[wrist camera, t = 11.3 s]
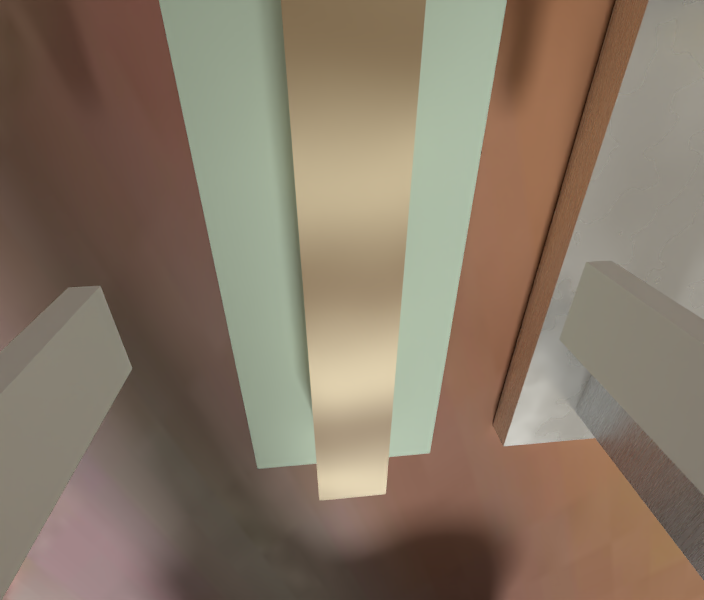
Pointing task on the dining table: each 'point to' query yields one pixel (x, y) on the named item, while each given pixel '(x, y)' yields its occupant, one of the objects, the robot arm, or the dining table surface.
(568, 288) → the rail stand
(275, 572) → the dining table surface
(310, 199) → the wooden rail
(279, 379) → the green mat
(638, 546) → the dining table surface
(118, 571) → the dining table surface
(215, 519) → the dining table surface
